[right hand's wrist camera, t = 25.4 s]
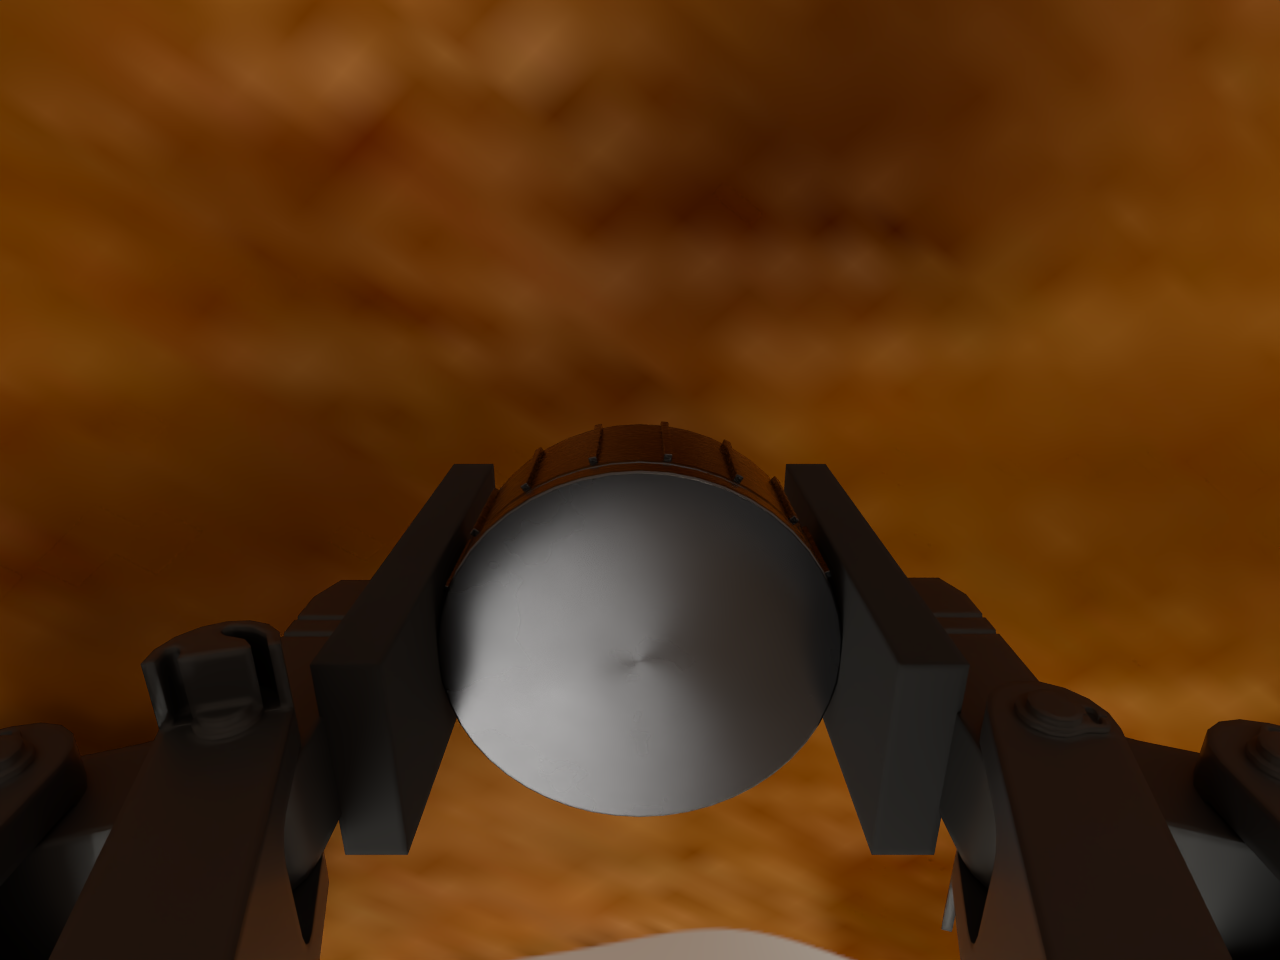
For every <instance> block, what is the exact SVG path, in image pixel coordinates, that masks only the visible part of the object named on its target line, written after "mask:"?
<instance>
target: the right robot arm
mask: <svg viewBox="0 0 1280 960" xmlns="http://www.w3.org/2000/svg"><path fill="white" fill-rule="evenodd" d="M494 488H495V479H494V466H493V464H454V465H453V466H452V468H451V469H450V471H449V472H448V473H447V475H446V476H445V477H444V479H443V480H442V482H441V483H440V484H439V486H438V487H437V489H436V490H435V491H434V493H433V494H432V496H431V497H430V498H429V500H428V501H427V502H426V504H425V505H424V507H423V508H422V509H421V511H420V512H419V514H418V515H417V516H416V518H415V519H414V521H413V522H412V523H411V525H410V526H409V527H408V529H407V530H406V532H405V533H404V534H403V536H402V537H401V539H400V540H399V541H398V543H397V544H396V545H395V547H394V548H393V550H392V551H391V552H390V554H389V555H388V557H387V558H386V559H385V561H384V562H383V564H382V565H381V566H380V568H379V569H378V570H377V572H376V573H375V575H374V576H373V577H372V579H371V580H341V581H339V582H337V583H336V584H334V585H333V586H331V587H329V588H328V589H326V590H324V591H323V592H321V593H320V594H318V595H316V596H315V597H314V598H313V599H312V600H311V601H310V602H309V604H308V605H307V606H306V607H305V608H304V610H303V611H302V612H301V613H300V614H299V616H298V620H294V622H293V623H292V624H291V625H290V626H289V628H288V629H287V630H286V631H285V632H284V637H280V633H279V632H278V631H277V630H276V629H274V628H273V627H272V626H270V625H269V624H266V623H261V622H255V621H250V620H249V621H227V622H222V623H217V624H213V625H208V626H204V627H200V628H197V629H195V630H192V631H189V632H187V633H184V634H182V635H179V636H176V637H174V638H173V639H171V640H169V641H168V642H166V643H164V644H163V645H161V646H160V647H158V648H156V649H155V650H153V651H152V653H151V654H150V655H149V656H148V657H147V658H146V659H145V660H144V661H143V662H142V663H141V667H142V670H143V674H144V677H145V681H146V684H147V688H148V691H149V695H150V698H151V702H152V705H153V709H154V712H155V716H156V719H157V723H158V726H159V731H158V733H157V735H156V737H155V739H154V741H150V742H147V743H143V744H139V745H134V746H129V747H124V748H119V749H114V750H109V751H104V752H99V753H95V754H90V755H85V756H80V753H79V750H78V747H77V744H76V741H75V738H74V735H73V733H72V732H70V731H69V730H67V729H66V728H65V727H63V726H62V725H56V724H47V723H35V724H28V725H21V726H12V727H8V728H4V729H0V960H319V959H320V951H321V943H322V935H323V926H324V918H325V910H326V902H327V894H328V885H329V880H328V873H327V866H326V861H325V856H324V849H325V847H326V845H327V843H328V841H329V839H330V836H331V834H332V832H333V830H334V828H335V826H336V824H337V822H338V820H339V823H340V828H341V834H342V839H343V844H344V850H345V855H408V853H409V850H410V847H411V844H412V841H413V839H414V836H415V833H416V830H417V827H418V825H419V822H420V819H421V816H422V813H423V811H424V808H425V805H426V802H427V799H428V797H429V794H430V791H431V788H432V785H433V783H434V780H435V777H436V774H437V772H438V769H439V766H440V763H441V760H442V758H443V755H444V752H445V749H446V746H447V744H448V741H449V738H450V735H451V732H452V730H453V727H454V724H455V721H456V718H457V717H456V715H455V713H454V711H453V709H452V707H451V705H450V703H449V700H448V697H447V695H446V692H445V689H444V686H443V683H442V678H441V673H440V666H439V658H438V646H437V633H438V624H439V616H440V611H441V608H442V604H443V600H444V597H445V593H446V592H443V590H444V586H445V584H446V582H447V580H448V578H449V576H450V575H451V573H452V571H453V569H454V567H455V565H456V563H457V561H458V559H459V557H460V555H461V553H462V551H463V549H464V547H465V545H466V543H467V541H468V540H469V539H472V537H473V536H472V535H471V534H470V532H471V530H472V528H473V527H474V525H475V523H476V521H477V519H478V517H479V515H480V513H481V511H482V509H483V507H484V505H485V503H486V502H487V500H488V498H489V496H490V494H491V492H492V491H493V489H494ZM784 492H785V494H786V496H787V498H788V500H789V502H790V503H791V505H792V507H793V509H794V511H795V513H796V515H797V517H798V519H799V522H800V524H801V526H802V527H804V526H807V528H808V530H809V532H810V534H811V536H812V537H813V539H814V541H815V543H816V545H817V547H818V549H819V551H820V553H821V555H822V557H823V558H824V560H825V562H826V564H827V566H828V568H829V570H830V572H831V575H832V577H830V578H828V580H829V583H830V585H831V587H832V589H833V591H834V595H835V599H836V602H837V606H838V609H839V613H840V620H841V628H842V652H841V662H840V670H839V676H838V681H837V684H836V687H835V690H834V693H833V696H832V699H831V702H830V704H829V706H828V708H827V710H826V712H825V714H824V716H823V720H824V722H825V725H826V728H827V731H828V734H829V736H830V739H831V742H832V745H833V748H834V750H835V753H836V756H837V759H838V762H839V764H840V767H841V770H842V773H843V776H844V778H845V781H846V784H847V787H848V790H849V792H850V795H851V798H852V801H853V804H854V806H855V809H856V812H857V815H858V818H859V820H860V823H861V826H862V829H863V832H864V834H865V837H866V840H867V843H868V846H869V848H870V851H871V854H872V855H934V852H935V847H936V842H937V836H938V831H939V826H940V821H941V817H942V820H943V822H944V824H945V826H946V828H947V830H948V832H949V834H950V836H951V838H952V840H953V842H954V844H955V846H956V848H957V851H956V856H955V861H954V866H953V871H952V876H951V881H950V886H949V891H948V895H947V900H946V905H945V910H944V916H943V923H942V929H943V930H947V931H951V932H952V928H953V923H954V918H955V916H956V925H957V933H958V941H959V949H960V957H961V960H1280V726H1279V725H1275V724H1270V723H1263V722H1256V721H1248V720H1241V719H1238V720H1229V721H1221V722H1218V723H1217V724H1215V725H1214V726H1212V727H1211V728H1210V729H1208V730H1207V733H1206V736H1205V739H1204V742H1203V745H1202V748H1201V751H1200V753H1197V752H1192V751H1187V750H1182V749H1177V748H1172V747H1167V746H1162V745H1157V744H1152V743H1147V742H1143V741H1138V740H1134V739H1130V738H1127V737H1125V736H1124V734H1123V732H1122V730H1121V728H1120V727H1119V726H1118V724H1117V723H1116V722H1115V720H1114V719H1113V718H1112V717H1111V715H1110V714H1109V713H1108V712H1107V711H1105V710H1104V709H1102V708H1101V707H1100V706H1098V705H1097V704H1095V703H1094V702H1093V701H1091V700H1090V699H1088V698H1086V697H1084V696H1081V695H1079V694H1077V693H1075V692H1072V691H1070V690H1068V689H1066V688H1063V687H1059V686H1055V685H1051V684H1047V683H1043V682H1039V681H1038V680H1037V678H1036V677H1035V676H1034V675H1033V674H1032V673H1031V671H1030V670H1029V669H1028V668H1027V667H1026V665H1025V664H1024V663H1023V662H1022V661H1021V659H1020V658H1019V657H1018V656H1017V655H1016V653H1015V652H1014V651H1013V650H1012V649H1011V648H1010V646H1009V645H1008V644H1007V643H1006V642H1005V640H1004V639H1003V638H1002V637H1001V636H1000V634H996V630H995V628H994V627H993V626H992V625H991V624H990V623H989V621H988V620H987V619H986V618H982V613H981V612H980V611H979V609H978V608H977V607H976V606H975V605H974V603H973V602H972V601H971V600H970V599H969V598H968V596H967V595H966V594H964V593H963V592H961V591H959V590H958V589H956V588H955V587H953V586H951V585H950V584H948V583H946V582H945V581H943V580H941V579H940V578H907V577H906V575H905V574H904V573H903V571H902V570H901V568H900V567H899V566H898V564H897V563H896V561H895V560H894V559H893V557H892V556H891V555H890V553H889V552H888V550H887V549H886V548H885V546H884V545H883V543H882V542H881V541H880V539H879V538H878V536H877V535H876V534H875V532H874V531H873V530H872V528H871V527H870V525H869V524H868V523H867V521H866V520H865V518H864V517H863V516H862V514H861V513H860V511H859V510H858V509H857V507H856V506H855V505H854V503H853V502H852V500H851V499H850V498H849V496H848V495H847V493H846V492H845V491H844V489H843V488H842V486H841V485H840V484H839V482H838V481H837V480H836V478H835V477H834V475H833V474H832V473H831V471H830V470H829V468H828V467H827V466H826V464H786V473H785V486H784Z"/></svg>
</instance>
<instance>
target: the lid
mask: <svg viewBox="0 0 1280 960" xmlns="http://www.w3.org/2000/svg"><path fill="white" fill-rule="evenodd" d="M470 534H471V535H472V536H473V537H472V539H469V540H468V541H467V543H466V545H465V547H464V549H463V551H462V553H461V555H460V557H459V559H458V561H457V563H456V565H455V567H454V569H453V571H452V573H451V575H450V576H449V578H448V580H447V582H446V584H445V586H444V590H443V592H446V593H445V597H444V600H443V604H442V608H441V611H440V616H439V624H438V633H437V646H438V658H439V666H440V673H441V678H442V683H443V686H444V689H445V692H446V695H447V697H448V700H449V703H450V705H451V707H452V709H453V711H454V713H455V715H456V717H457V719H458V721H459V723H460V724H461V726H462V727H463V729H464V730H465V731H466V733H467V734H468V736H469V737H470V739H471V740H472V741H473V743H474V744H475V745H476V746H477V747H478V748H479V749H480V750H481V751H482V752H483V753H484V755H485V756H486V757H487V758H488V759H489V760H490V761H492V762H493V763H494V764H495V765H496V766H497V767H499V768H500V769H501V770H502V771H503V772H505V773H506V774H507V775H509V776H510V777H512V778H513V779H515V780H516V781H518V782H519V783H521V784H522V785H524V786H525V787H527V788H529V789H531V790H533V791H535V792H537V793H539V794H541V795H543V796H545V797H547V798H549V799H552V800H555V801H557V802H560V803H563V804H565V805H568V806H571V807H575V808H579V809H583V810H587V811H591V812H596V813H602V814H609V815H615V816H635V817H645V816H664V815H670V814H677V813H683V812H689V811H693V810H697V809H700V808H704V807H708V806H711V805H714V804H717V803H719V802H722V801H725V800H727V799H730V798H733V797H735V796H737V795H739V794H741V793H742V792H744V791H746V790H748V789H750V788H752V787H754V786H756V785H757V784H759V783H760V782H762V781H763V780H765V779H766V778H768V777H769V776H771V775H772V774H774V773H775V772H776V771H777V770H778V769H780V768H781V767H782V766H783V765H784V764H786V763H787V762H788V761H789V760H790V759H791V758H792V757H793V756H794V755H795V754H796V753H797V752H798V751H799V750H800V749H801V747H802V746H803V745H804V744H805V743H806V742H807V741H808V739H809V738H810V736H811V735H812V733H813V732H814V731H815V729H816V728H817V726H818V725H819V723H820V722H821V720H822V718H823V716H824V714H825V712H826V710H827V708H828V706H829V704H830V702H831V699H832V696H833V693H834V690H835V687H836V684H837V681H838V676H839V670H840V662H841V652H842V628H841V620H840V613H839V609H838V606H837V602H836V599H835V595H834V591H833V589H832V587H831V585H830V583H829V580H828V578H830V577H832V575H831V572H830V570H829V568H828V566H827V564H826V562H825V560H824V558H823V557H822V555H821V553H820V551H819V549H818V547H817V545H816V543H815V541H814V539H813V537H812V536H811V534H810V532H809V530H808V528H807V526H804V527H802V526H801V524H800V522H799V519H798V517H797V515H796V513H795V511H794V509H793V507H792V505H791V503H790V502H789V500H788V498H787V496H786V494H785V492H784V490H783V488H782V486H781V484H780V482H779V480H778V479H777V478H776V477H773V478H772V479H770V478H769V477H768V475H767V474H765V473H764V472H763V471H762V470H761V469H760V468H758V467H757V466H756V465H755V464H754V463H753V462H752V461H750V460H749V459H747V458H746V457H744V456H743V455H741V454H740V453H738V452H737V451H735V450H734V449H732V446H731V443H730V442H728V441H726V440H724V441H723V443H720V442H718V441H716V440H714V439H712V438H709V437H706V436H703V435H700V434H697V433H694V432H691V431H688V430H683V429H678V428H673V427H669V425H668V422H661V426H659V425H643V424H636V425H621V426H612V427H607V428H603V427H602V424H599V425H595V428H594V430H592V431H588V432H585V433H582V434H579V435H576V436H573V437H570V438H568V439H566V440H564V441H562V442H560V443H557V444H555V445H553V446H551V447H549V448H547V449H546V450H543V449H542V448H541V447H540V448H539V449H537V450H536V451H535V453H534V456H533V458H532V459H531V460H529V461H528V462H527V463H526V464H524V465H523V466H522V467H521V468H520V469H519V470H518V471H516V472H515V473H514V474H513V475H512V476H511V477H510V478H509V479H508V481H507V482H506V483H505V484H504V485H503V486H502V487H501V489H500V490H498V489H496V488H494V489H493V491H492V492H491V494H490V496H489V498H488V500H487V502H486V503H485V505H484V507H483V509H482V511H481V513H480V515H479V517H478V519H477V521H476V523H475V525H474V527H473V528H472V530H471V532H470Z"/></svg>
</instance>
